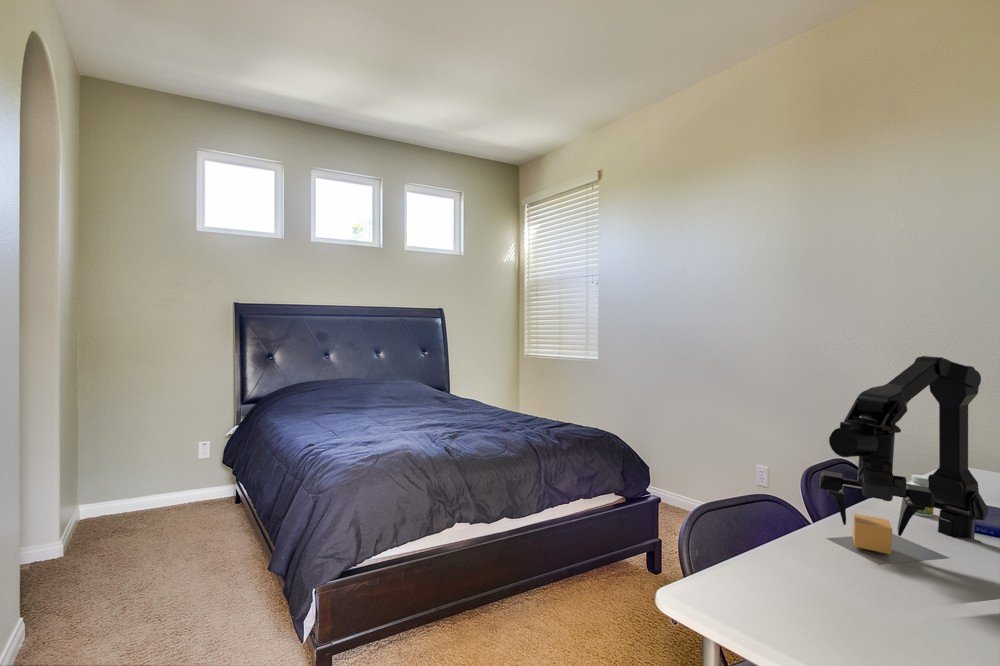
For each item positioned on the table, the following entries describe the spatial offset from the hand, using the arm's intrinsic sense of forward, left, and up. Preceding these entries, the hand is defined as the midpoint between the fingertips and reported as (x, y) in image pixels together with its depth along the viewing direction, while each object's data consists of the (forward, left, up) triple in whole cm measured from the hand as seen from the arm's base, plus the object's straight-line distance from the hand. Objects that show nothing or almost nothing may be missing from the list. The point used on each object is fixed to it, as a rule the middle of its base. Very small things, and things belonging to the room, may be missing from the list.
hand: (871, 529), depth 108 cm
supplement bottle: (-38, -19, -6) cm, 43 cm away
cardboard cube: (0, 0, -3) cm, 3 cm away
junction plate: (-4, 0, -6) cm, 7 cm away
